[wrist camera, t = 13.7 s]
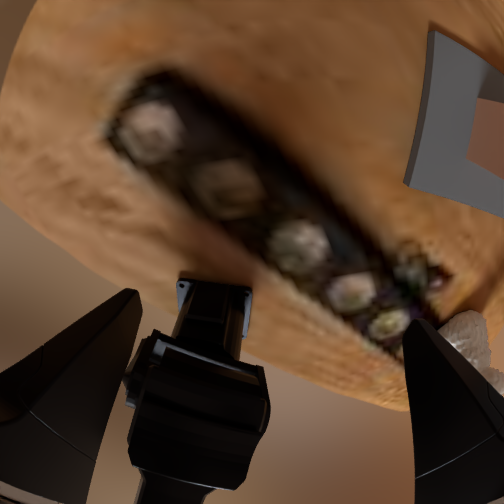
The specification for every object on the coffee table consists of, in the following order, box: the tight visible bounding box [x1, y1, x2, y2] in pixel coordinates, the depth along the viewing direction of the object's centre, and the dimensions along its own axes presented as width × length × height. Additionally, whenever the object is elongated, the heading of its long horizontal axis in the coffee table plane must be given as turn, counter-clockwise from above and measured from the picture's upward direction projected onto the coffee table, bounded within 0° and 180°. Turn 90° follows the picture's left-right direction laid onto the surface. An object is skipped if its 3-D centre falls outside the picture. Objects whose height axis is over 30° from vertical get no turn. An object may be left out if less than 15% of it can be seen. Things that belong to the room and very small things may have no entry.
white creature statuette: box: [438, 310, 504, 395], centre depth 20 cm, size 10×9×12 cm
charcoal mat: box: [403, 30, 504, 218], centre depth 13 cm, size 12×14×1 cm
